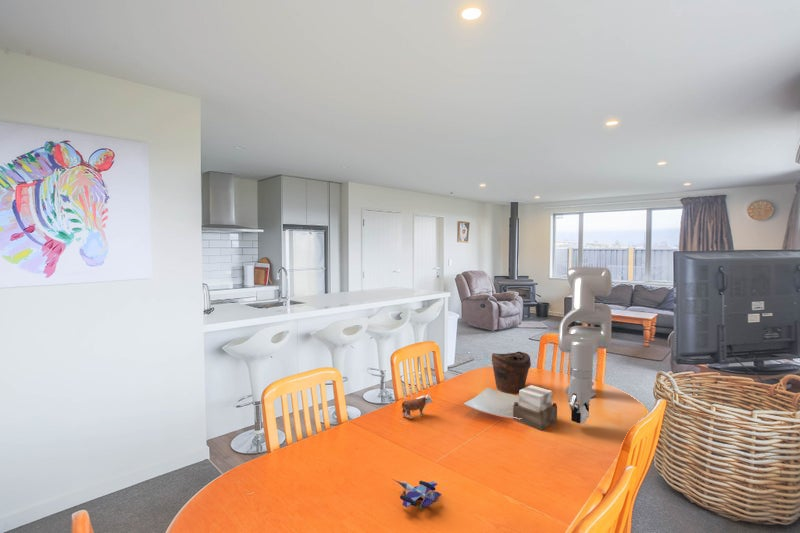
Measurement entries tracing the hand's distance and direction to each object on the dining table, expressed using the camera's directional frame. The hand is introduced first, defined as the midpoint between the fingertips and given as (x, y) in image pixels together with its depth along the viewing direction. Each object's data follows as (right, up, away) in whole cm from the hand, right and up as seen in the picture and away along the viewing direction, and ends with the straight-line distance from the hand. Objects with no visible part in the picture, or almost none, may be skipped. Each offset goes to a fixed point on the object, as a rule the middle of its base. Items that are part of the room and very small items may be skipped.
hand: (580, 418), depth 151 cm
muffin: (0, -1, 0) cm, 1 cm away
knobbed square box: (-15, -3, +7) cm, 17 cm away
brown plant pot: (-15, -2, +41) cm, 44 cm away
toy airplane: (-64, -7, -42) cm, 76 cm away
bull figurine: (-61, -3, +11) cm, 62 cm away
